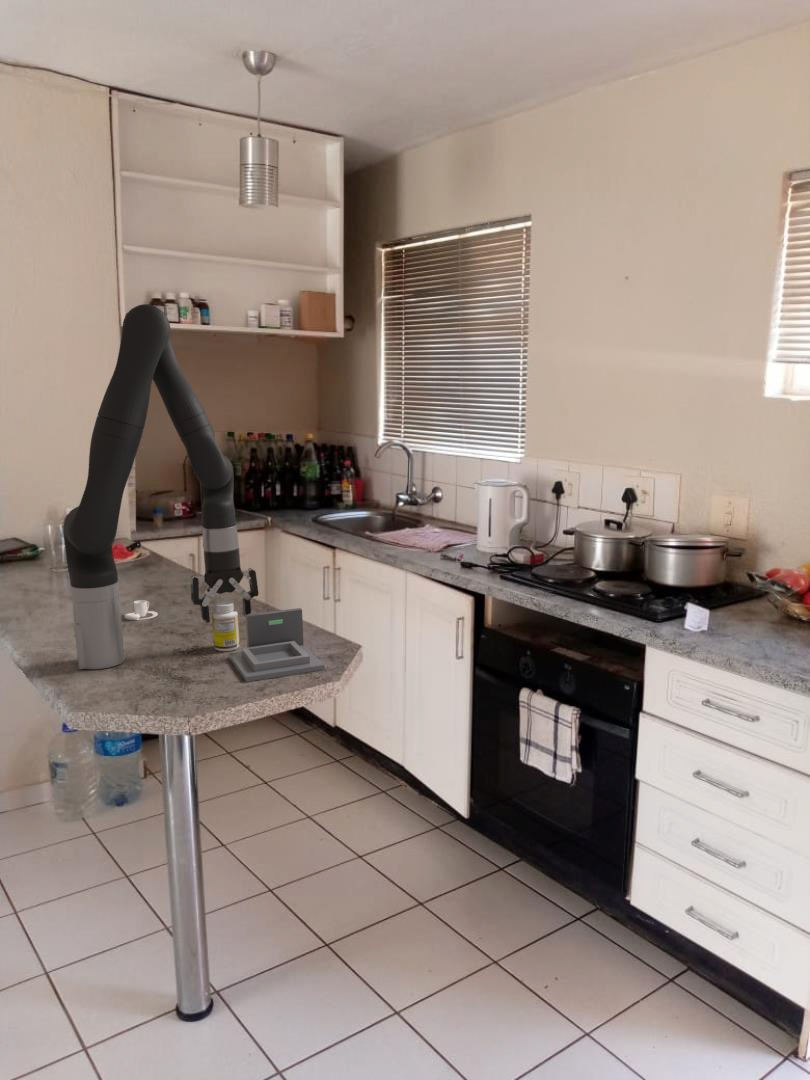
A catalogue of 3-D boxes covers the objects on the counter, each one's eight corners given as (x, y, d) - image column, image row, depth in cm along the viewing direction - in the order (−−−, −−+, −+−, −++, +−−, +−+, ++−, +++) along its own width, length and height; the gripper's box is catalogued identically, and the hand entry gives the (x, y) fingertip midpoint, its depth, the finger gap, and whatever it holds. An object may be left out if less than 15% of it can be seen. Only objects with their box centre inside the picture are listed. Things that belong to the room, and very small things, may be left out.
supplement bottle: (224, 643, 189) (221, 599, 187) (244, 645, 187) (242, 601, 185) (208, 650, 184) (205, 605, 182) (229, 653, 182) (227, 607, 180)
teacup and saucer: (129, 624, 207) (127, 608, 206) (117, 617, 213) (115, 602, 212) (163, 617, 212) (161, 601, 211) (150, 611, 218) (149, 596, 217)
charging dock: (246, 682, 164) (243, 637, 163) (229, 658, 179) (226, 617, 177) (324, 669, 170) (322, 626, 169) (301, 647, 185) (300, 607, 183)
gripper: (191, 553, 175) (197, 628, 179) (257, 545, 181) (263, 618, 184) (184, 547, 182) (191, 619, 185) (249, 540, 188) (254, 610, 191)
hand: (227, 618), depth 185 cm, fingers open, 8 cm apart
